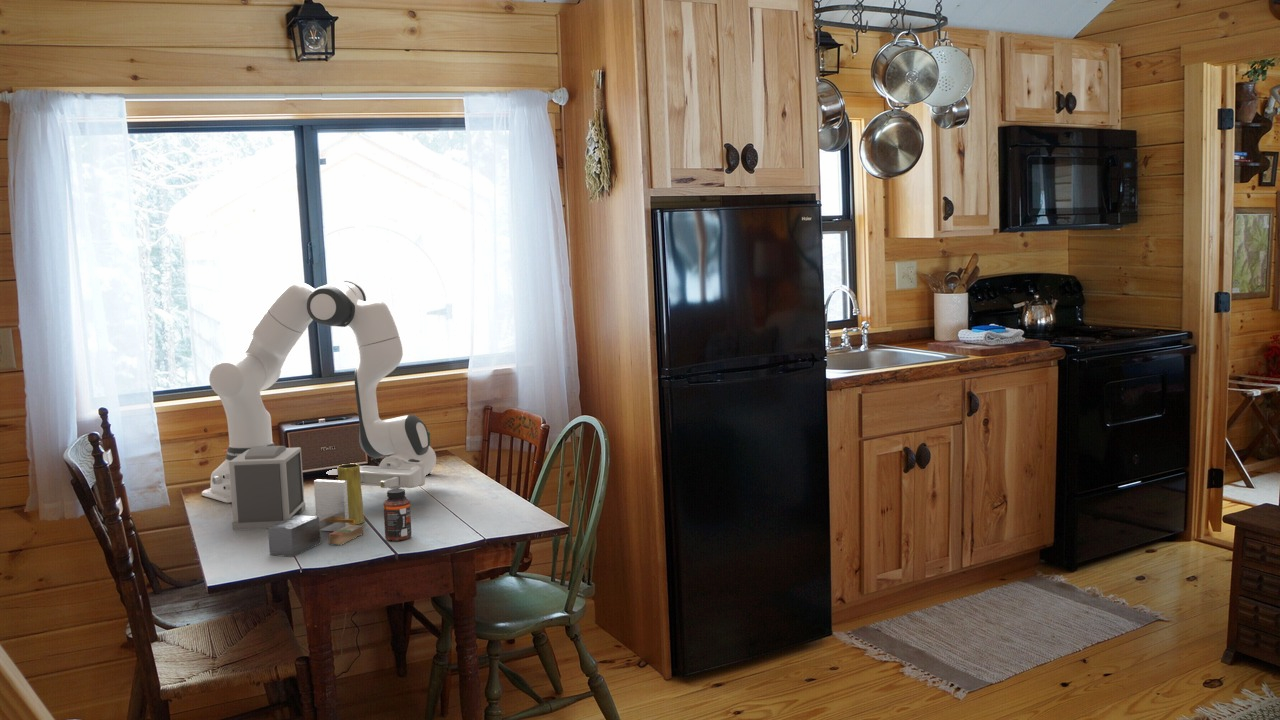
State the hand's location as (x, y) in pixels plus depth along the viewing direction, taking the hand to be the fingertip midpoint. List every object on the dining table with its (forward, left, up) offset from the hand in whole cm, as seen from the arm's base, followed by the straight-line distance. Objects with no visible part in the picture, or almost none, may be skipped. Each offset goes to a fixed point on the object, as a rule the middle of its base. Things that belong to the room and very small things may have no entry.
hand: (366, 483), depth 252 cm
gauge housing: (+6, -29, -8) cm, 30 cm away
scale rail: (+11, -18, -8) cm, 23 cm away
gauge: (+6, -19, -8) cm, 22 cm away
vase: (+2, -7, -8) cm, 11 cm away
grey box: (-20, -13, -8) cm, 26 cm away
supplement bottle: (+22, -12, -8) cm, 26 cm away
